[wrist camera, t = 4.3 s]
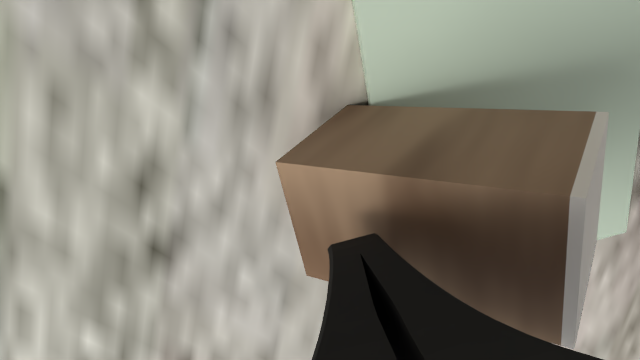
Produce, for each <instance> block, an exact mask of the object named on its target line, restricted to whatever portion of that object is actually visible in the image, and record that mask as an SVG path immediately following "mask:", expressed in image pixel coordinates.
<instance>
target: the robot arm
mask: <svg viewBox="0 0 640 360" xmlns="http://www.w3.org/2000/svg"><path fill="white" fill-rule="evenodd" d="M327 250H328V254H329V266H330V269H329V284H328V293H327V301H326V306H325V311H324V316H323V321H322V326H321V330H320V334H319V338H318V341H317V345H316V348H315V351H314V354H313V357H312V360H603V359H599V358H596V357H593V356H590V355H586V354H583V353H580V352H576V351H573V350H570V349H567V348H563V347H560V346H558V345H555V344H552V343H550V342H547V341H544V340H542V339H539V338H536V337H534V336H531V335H529V334H526V333H524V332H521V331H519V330H517V329H515V328H513V327H510V326H508V325H506V324H504V323H502V322H499V321H497V320H495V319H493V318H491V317H489V316H487V315H485V314H483V313H482V312H480V311H478V310H476V309H474V308H473V307H471V306H469V305H467V304H466V303H464V302H462V301H461V300H459V299H457V298H456V297H454V296H453V295H451V294H450V293H448V292H447V291H445V290H444V289H442V288H441V287H439V286H438V285H436V284H435V283H434V282H432V281H431V280H430V279H428V278H427V277H425V276H424V275H423V274H422V273H420V272H419V271H418V270H417V269H415V268H414V267H413V266H412V265H410V264H409V263H408V262H407V261H405V260H404V259H403V258H402V257H401V256H400V255H399V254H398V253H396V252H395V251H394V250H393V249H392V248H391V247H390V246H389V245H388V244H387V243H386V242H385V241H384V240H383V239H382V238H381V237H380V236H379V235H377V234H376V233H372V234H369V235H365V236H361V237H357V238H354V239H350V240H346V241H343V242H339V243H335V244H331V245H330V246H329V248H328V249H327Z"/></svg>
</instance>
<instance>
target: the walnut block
mask: <svg viewBox="0 0 640 360" xmlns="http://www.w3.org/2000/svg"><path fill="white" fill-rule="evenodd" d="M608 118H609V112H592V111H555V110H517V109H480V108H442V107H404V106H367V105H347V106H346V107H345V108H343V109H342V110H341V111H340V112H338V113H337V114H336V115H334V116H333V117H332V118H331V119H329V120H328V121H327V122H326V123H324V124H323V125H322V126H321V127H319V128H318V129H317V130H315V131H314V132H313V133H312V134H310V135H309V136H308V137H307V138H305V139H304V140H303V141H302V142H300V143H299V144H298V145H296V146H295V147H294V148H293V149H291V150H290V151H289V152H288V153H286V154H285V155H284V156H283V157H281V158H280V159H279V160H278V161H276V165H277V169H278V173H279V176H280V180H281V184H282V187H283V191H284V194H285V198H286V202H287V205H288V209H289V213H290V216H291V220H292V224H293V227H294V231H295V234H296V238H297V242H298V245H299V249H300V253H301V256H302V260H303V264H304V267H305V271H306V274H307V276H311V277H315V278H318V279H322V280H325V281H329V269H330V266H329V254H328V250H327V249H328V248H329V246H330V245H331V244H335V243H339V242H343V241H346V240H350V239H354V238H357V237H361V236H365V235H369V234H372V233H376V234H377V235H379V236H380V237H381V238H382V239H383V240H384V241H385V242H386V243H387V244H388V245H389V246H390V247H391V248H392V249H393V250H394V251H395V252H396V253H398V254H399V255H400V256H401V257H402V258H403V259H404V260H405V261H407V262H408V263H409V264H410V265H412V266H413V267H414V268H415V269H417V270H418V271H419V272H420V273H422V274H423V275H424V276H425V277H427V278H428V279H430V280H431V281H432V282H434V283H435V284H436V285H438V286H439V287H441V288H442V289H444V290H445V291H447V292H448V293H450V294H451V295H453V296H454V297H456V298H457V299H459V300H461V301H462V302H464V303H466V304H467V305H469V306H471V307H473V308H474V309H476V310H478V311H480V312H482V313H483V314H485V315H487V316H489V317H491V318H493V319H495V320H497V321H499V322H502V323H504V324H506V325H508V326H510V327H513V328H515V329H517V330H519V331H521V332H524V333H526V334H529V335H531V336H534V337H536V338H539V339H542V340H544V341H547V342H550V343H554V344H557V345H561V346H565V347H568V348H572V349H574V348H575V343H576V338H577V333H578V329H579V324H580V319H581V314H582V310H583V305H584V300H585V295H586V290H587V286H588V281H589V276H590V271H591V267H592V262H593V257H594V252H595V247H596V242H597V231H598V221H599V211H600V200H601V190H602V180H603V170H604V159H605V149H606V139H607V128H608Z"/></svg>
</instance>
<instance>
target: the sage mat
mask: <svg viewBox="0 0 640 360" xmlns="http://www.w3.org/2000/svg"><path fill="white" fill-rule="evenodd" d="M352 3H353V9H354V15H355V22H356V28H357V34H358V40H359V47H360V53H361V59H362V66H363V72H364V78H365V84H366V91H367V97H368V103H369V106H404V107H442V108H480V109H517V110H555V111H592V112H609V118H608V128H607V139H606V149H605V159H604V170H603V180H602V190H601V200H600V211H599V221H598V231H597V240H600V239H603V238H607V237H611V236H614V235H618V234H622V233H625V232H626V230H627V222H628V215H629V207H630V200H631V192H632V185H633V177H634V170H635V162H636V155H637V147H638V140H639V132H640V0H352Z"/></svg>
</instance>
